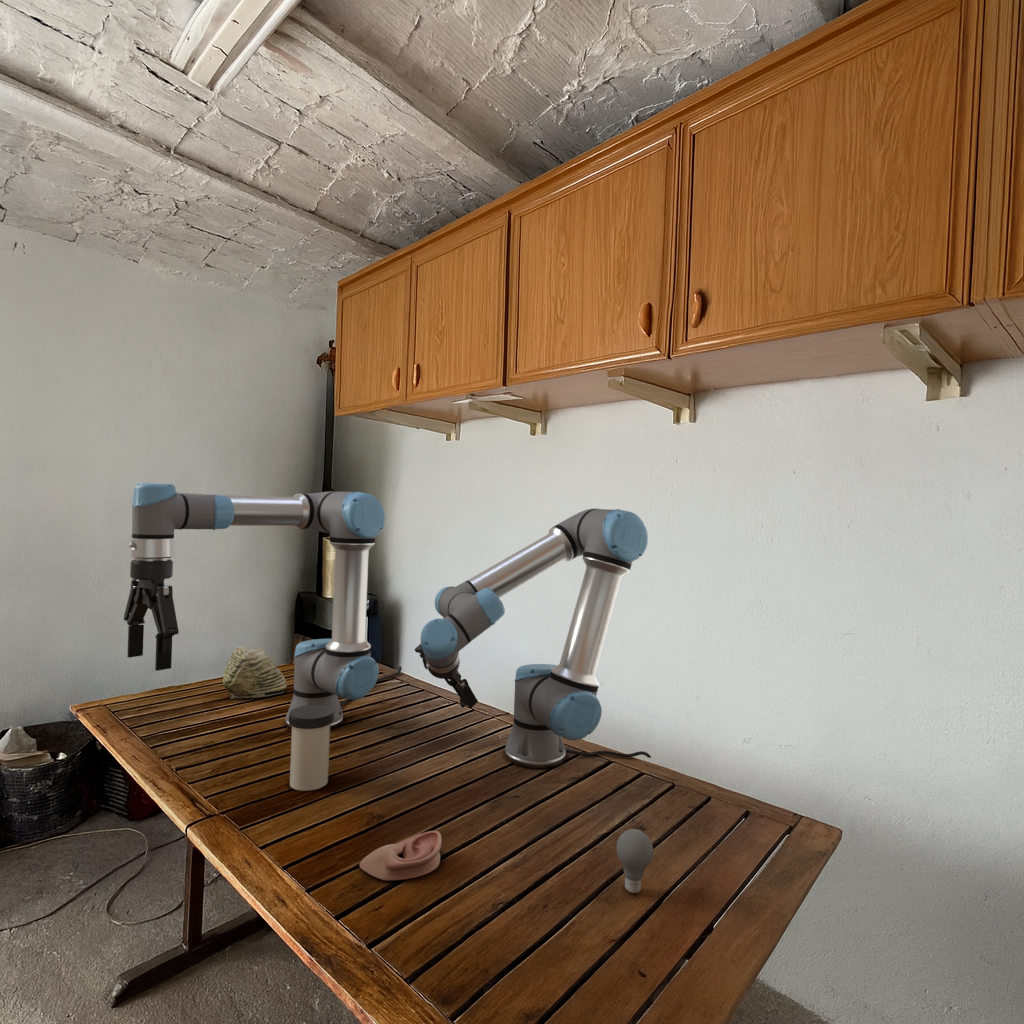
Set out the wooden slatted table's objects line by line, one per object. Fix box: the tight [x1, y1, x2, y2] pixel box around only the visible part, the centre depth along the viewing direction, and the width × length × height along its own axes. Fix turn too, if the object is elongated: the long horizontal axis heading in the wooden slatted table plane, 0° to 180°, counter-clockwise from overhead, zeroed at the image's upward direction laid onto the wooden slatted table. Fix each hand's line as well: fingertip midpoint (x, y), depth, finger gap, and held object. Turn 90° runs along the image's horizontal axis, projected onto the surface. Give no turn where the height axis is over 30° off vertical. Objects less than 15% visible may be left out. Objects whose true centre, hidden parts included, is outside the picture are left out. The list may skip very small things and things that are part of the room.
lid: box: [289, 705, 334, 729], centre depth 140 cm, size 9×9×2 cm
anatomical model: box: [359, 830, 443, 882], centre depth 111 cm, size 13×4×12 cm
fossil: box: [222, 646, 288, 699], centre depth 198 cm, size 9×18×15 cm, turn 132°
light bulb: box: [615, 828, 654, 894], centre depth 106 cm, size 6×6×10 cm
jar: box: [289, 724, 331, 792], centre depth 140 cm, size 8×8×15 cm
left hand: (148, 662), depth 129 cm, fingers open, 13 cm apart
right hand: (447, 683), depth 160 cm, fingers open, 13 cm apart
